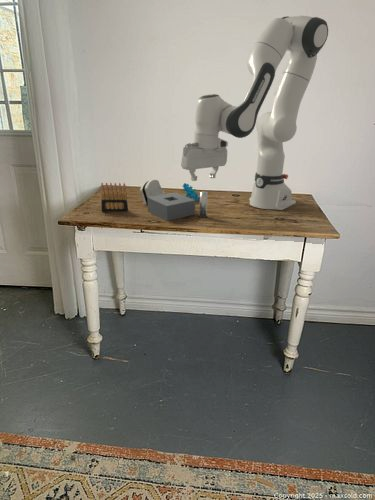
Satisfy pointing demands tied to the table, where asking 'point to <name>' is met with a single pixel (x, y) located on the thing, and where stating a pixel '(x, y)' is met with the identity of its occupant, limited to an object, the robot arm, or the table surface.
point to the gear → (190, 192)
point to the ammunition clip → (114, 199)
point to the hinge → (151, 190)
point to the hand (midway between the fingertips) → (203, 179)
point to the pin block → (171, 206)
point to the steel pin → (203, 204)
